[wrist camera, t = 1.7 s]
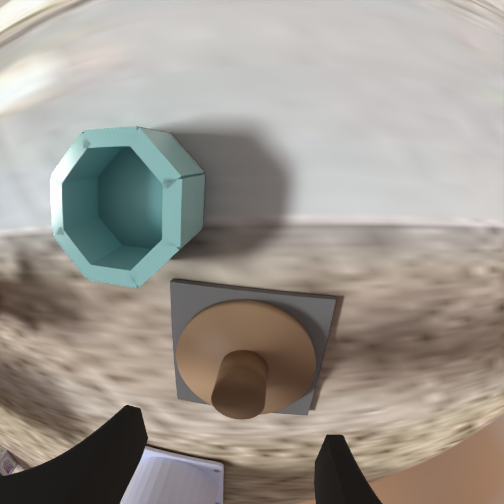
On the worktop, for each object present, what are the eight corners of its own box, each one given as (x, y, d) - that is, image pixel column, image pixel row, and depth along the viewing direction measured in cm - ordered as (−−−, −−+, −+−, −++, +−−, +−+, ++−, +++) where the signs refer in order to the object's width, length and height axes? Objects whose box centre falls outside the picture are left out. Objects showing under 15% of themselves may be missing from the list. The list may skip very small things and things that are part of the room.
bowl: (203, 264, 15) (180, 294, 11) (96, 251, 15) (57, 273, 12) (209, 133, 13) (185, 125, 9) (95, 136, 13) (51, 134, 10)
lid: (302, 410, 16) (303, 452, 13) (183, 395, 17) (167, 434, 14) (326, 306, 14) (336, 345, 11) (177, 290, 15) (152, 323, 11)
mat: (307, 410, 17) (307, 415, 16) (179, 394, 17) (177, 398, 17) (334, 296, 14) (336, 299, 14) (172, 278, 15) (170, 281, 15)
